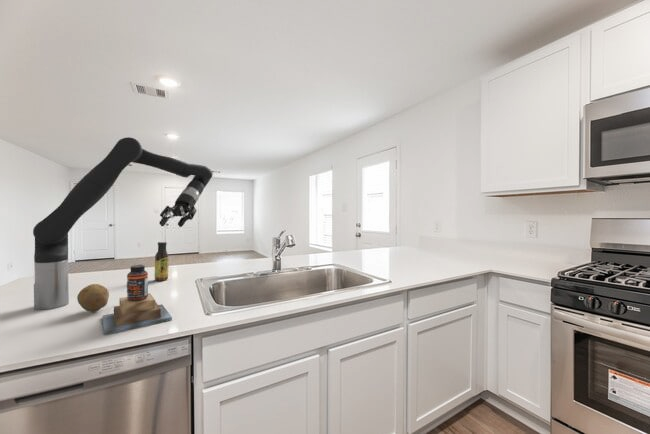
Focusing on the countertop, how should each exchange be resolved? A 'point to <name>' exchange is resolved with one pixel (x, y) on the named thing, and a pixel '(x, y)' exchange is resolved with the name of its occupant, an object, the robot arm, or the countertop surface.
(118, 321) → the block tower
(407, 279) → the countertop surface
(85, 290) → the natural sponge
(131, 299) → the supplement bottle
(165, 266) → the sauce bottle
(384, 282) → the countertop surface
